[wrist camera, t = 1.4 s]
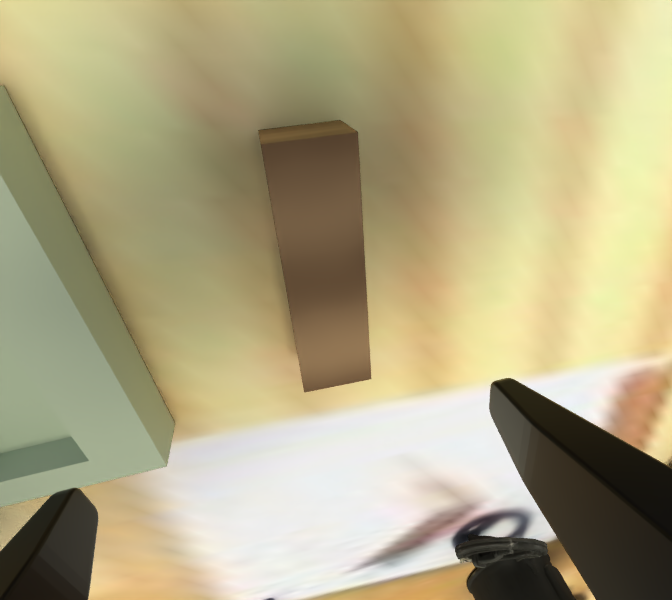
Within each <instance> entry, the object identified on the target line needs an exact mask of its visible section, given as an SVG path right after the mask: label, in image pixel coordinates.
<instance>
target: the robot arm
mask: <svg viewBox="0 0 672 600" xmlns="http://www.w3.org/2000/svg"><path fill="white" fill-rule="evenodd" d="M489 409H490V414H491V416H492V419H493V421H494V423H495V425H496V427H497V429H498V431H499V433H500V435H501V437H502V439H503V441H504V444H505V446H506V448H507V450H508V452H509V454H510V456H511V458H512V460H513V462H514V464H515V466H516V468H517V470H518V472H519V474H520V476H521V478H522V480H523V482H524V484H525V485H526V487H527V489H528V490H529V492H530V494H531V495H532V497H533V499H534V500H535V502H536V503H537V505H538V507H539V508H540V510H541V511H542V513H543V515H544V516H545V518H546V520H547V521H548V523H549V524H550V526H551V528H552V529H553V531H554V532H555V534H556V536H557V537H558V539H559V541H560V542H561V544H562V545H563V547H564V549H565V550H566V552H567V553H568V555H569V557H570V558H571V560H572V562H573V563H574V565H575V566H576V568H577V570H578V571H579V573H580V574H581V576H582V578H583V579H584V581H585V582H586V584H587V586H588V587H589V589H590V591H591V592H592V594H593V595H594V597H595V599H596V600H672V468H671V467H669V466H667V465H666V464H664V463H662V462H660V461H659V460H657V459H655V458H653V457H651V456H650V455H648V454H646V453H644V452H642V451H641V450H639V449H637V448H635V447H634V446H632V445H630V444H628V443H626V442H625V441H623V440H621V439H619V438H618V437H616V436H614V435H612V434H610V433H609V432H607V431H605V430H603V429H601V428H600V427H598V426H596V425H594V424H593V423H591V422H589V421H587V420H585V419H584V418H582V417H580V416H578V415H576V414H575V413H573V412H571V411H569V410H568V409H566V408H564V407H562V406H560V405H559V404H557V403H555V402H553V401H551V400H550V399H548V398H546V397H544V396H543V395H541V394H539V393H537V392H535V391H534V390H532V389H530V388H528V387H526V386H525V385H523V384H521V383H519V382H518V381H516V380H514V379H511V378H505V379H501V380H497V381H494V382H493V383H492V384H491V389H490V403H489ZM97 526H98V512H97V510H96V508H95V506H94V505H93V504H92V503H91V501H90V500H89V499H88V498H87V497H86V496H85V494H84V493H83V492H82V491H81V490H80V489H78V488H70V489H66V490H62V491H59V492H56V493H54V494H53V495H52V496H51V497H50V498H49V499H48V500H47V501H46V502H45V503H44V504H43V505H42V507H41V508H40V509H39V510H38V511H37V512H36V513H35V514H34V515H33V516H32V518H31V519H30V520H29V521H28V522H27V523H26V524H25V525H24V526H23V527H22V528H21V530H20V531H19V532H18V533H17V534H16V535H15V536H14V537H13V538H12V539H11V541H10V542H9V543H8V544H7V545H6V546H5V547H4V548H3V549H2V550H1V551H0V600H88V596H89V590H90V583H91V574H92V566H93V558H94V550H95V542H96V534H97Z"/></svg>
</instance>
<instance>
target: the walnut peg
mask: <svg viewBox="0 0 672 600" xmlns="http://www.w3.org/2000/svg"><path fill="white" fill-rule="evenodd" d="M258 131H259V137H260V143H261V148H262V154H263V160H264V165H265V171H266V177H267V183H268V188H269V194H270V200H271V205H272V211H273V217H274V222H275V228H276V234H277V240H278V245H279V251H280V257H281V262H282V268H283V274H284V279H285V285H286V291H287V296H288V302H289V308H290V314H291V319H292V325H293V331H294V336H295V342H296V348H297V353H298V359H299V365H300V371H301V376H302V382H303V388H304V392H309V391H314V390H319V389H324V388H329V387H334V386H339V385H344V384H349V383H354V382H359V381H364V380H369V379H371V365H370V347H369V329H368V310H367V292H366V274H365V255H364V237H363V219H362V200H361V182H360V164H359V145H358V132H357V131H355V130H354V129H353V128H351V127H350V126H348V125H347V124H345V123H344V122H342V121H341V120H337V121H329V122H321V123H313V124H305V125H296V126H288V127H280V128H272V129H264V130H258Z"/></svg>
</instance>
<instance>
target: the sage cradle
mask: <svg viewBox="0 0 672 600" xmlns="http://www.w3.org/2000/svg"><path fill="white" fill-rule="evenodd" d="M174 427H175V422H174V420H173V418H172V416H171V414H170V412H169V410H168V408H167V407H166V405H165V403H164V401H163V399H162V397H161V395H160V393H159V391H158V389H157V387H156V385H155V383H154V381H153V379H152V377H151V375H150V373H149V371H148V369H147V367H146V365H145V363H144V361H143V359H142V357H141V355H140V353H139V351H138V349H137V347H136V345H135V343H134V341H133V339H132V338H131V336H130V334H129V332H128V330H127V328H126V326H125V324H124V322H123V320H122V318H121V316H120V314H119V312H118V310H117V308H116V306H115V304H114V302H113V300H112V298H111V296H110V294H109V292H108V290H107V288H106V286H105V284H104V282H103V280H102V278H101V276H100V274H99V272H98V270H97V269H96V267H95V265H94V263H93V261H92V259H91V257H90V255H89V253H88V251H87V249H86V247H85V245H84V243H83V241H82V239H81V237H80V235H79V233H78V231H77V229H76V227H75V225H74V223H73V221H72V219H71V217H70V215H69V213H68V211H67V209H66V207H65V205H64V203H63V201H62V199H61V198H60V196H59V194H58V192H57V190H56V188H55V186H54V184H53V182H52V180H51V178H50V176H49V174H48V172H47V170H46V168H45V166H44V164H43V162H42V160H41V158H40V156H39V154H38V152H37V150H36V148H35V146H34V144H33V142H32V140H31V138H30V136H29V134H28V132H27V130H26V129H25V127H24V125H23V123H22V121H21V119H20V117H19V115H18V113H17V111H16V109H15V107H14V105H13V103H12V101H11V99H10V97H9V95H8V93H7V91H6V89H5V87H4V86H0V507H3V506H7V505H11V504H16V503H20V502H24V501H28V500H32V499H36V498H40V497H44V496H48V495H52V494H54V493H56V492H59V491H62V490H66V489H70V488H81V487H85V486H89V485H93V484H97V483H101V482H105V481H109V480H113V479H117V478H122V477H126V476H130V475H134V474H138V473H142V472H146V471H150V470H154V469H158V468H162V467H166V466H167V463H168V458H169V453H170V448H171V442H172V437H173V432H174Z"/></svg>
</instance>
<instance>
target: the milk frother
mask: <svg viewBox="0 0 672 600" xmlns="http://www.w3.org/2000/svg"><path fill="white" fill-rule="evenodd" d="M468 540H469V541H467V542H464V543H461V544H459V545H458V546H456V548H455V552H456V556H457V557H458V559H460V563H463V562H464V561H467V562H473V565H474V566H475V567H478V568H477V569H476V570H475V571H474V572H473V573H472V574H471V576H470V578H469V579H468V582H467V587H468V590H469V591H470V593H472V594H473V596H474V598H475V600H576V599H575V598H574V596H573V595H572V593H571V591H570V589H569V588H568V586H567V584H566V582H565V581H564V579H563V577H562V575H561V574H560V572H559V571H558V569H557V568H555V567H554V566H552V564H551V562H550V557H549V555H548V554H547V552H548V549H547V544H546V543H545V542H543V541H539V540H536V539H528V538H511V537H492V536H478V535H474V534H469V535H468Z"/></svg>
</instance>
